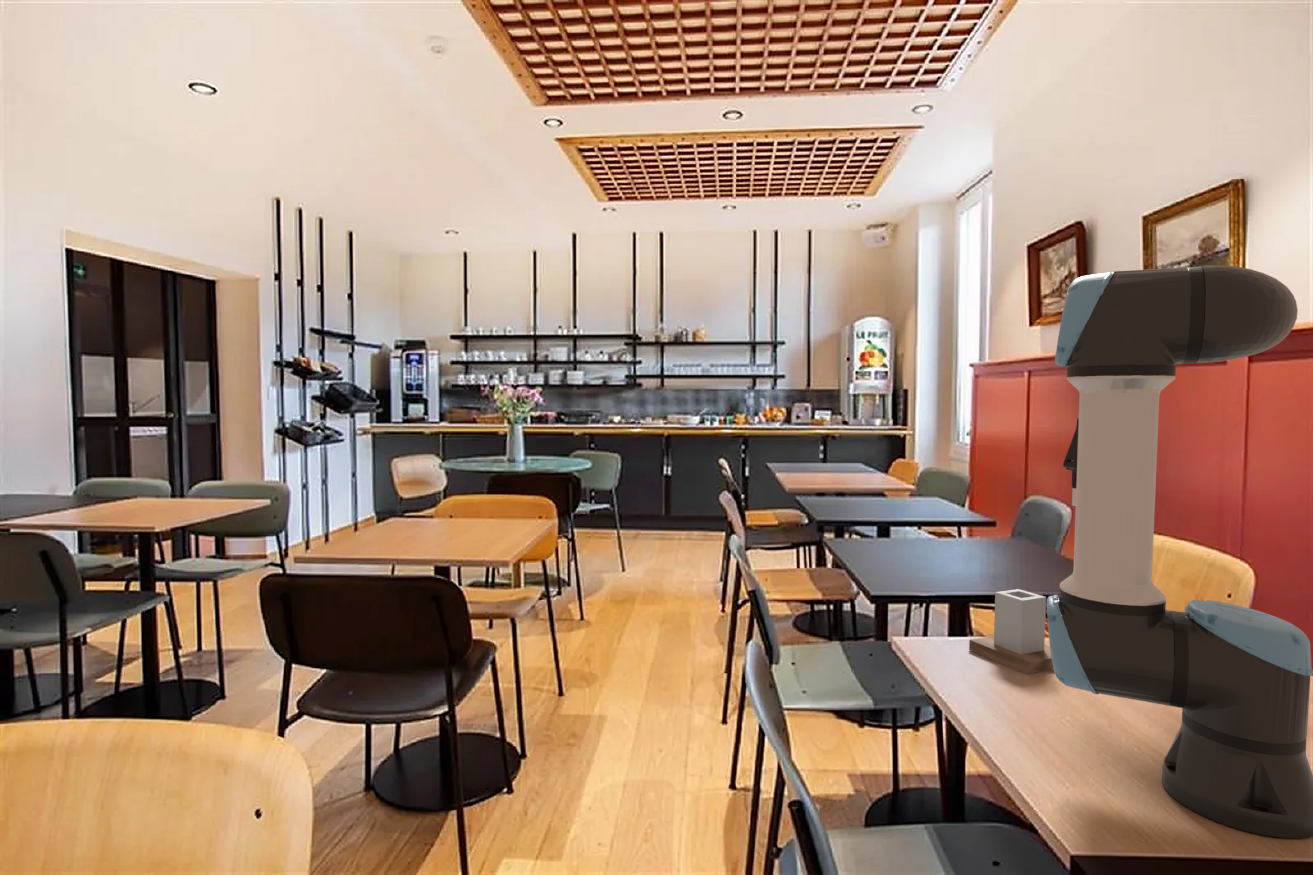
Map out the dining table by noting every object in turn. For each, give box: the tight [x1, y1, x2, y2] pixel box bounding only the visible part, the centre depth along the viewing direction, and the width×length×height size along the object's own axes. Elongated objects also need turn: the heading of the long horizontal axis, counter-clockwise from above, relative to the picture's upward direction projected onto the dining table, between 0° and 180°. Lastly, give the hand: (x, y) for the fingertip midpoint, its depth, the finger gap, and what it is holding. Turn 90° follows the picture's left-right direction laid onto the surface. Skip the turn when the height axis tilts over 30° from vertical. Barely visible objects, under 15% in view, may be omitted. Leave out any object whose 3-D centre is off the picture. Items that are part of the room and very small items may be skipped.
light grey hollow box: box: [993, 588, 1047, 654], centre depth 134 cm, size 6×6×10 cm
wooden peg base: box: [968, 635, 1054, 675], centre depth 134 cm, size 11×13×6 cm
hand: (1104, 504), depth 134 cm, fingers open, 13 cm apart
